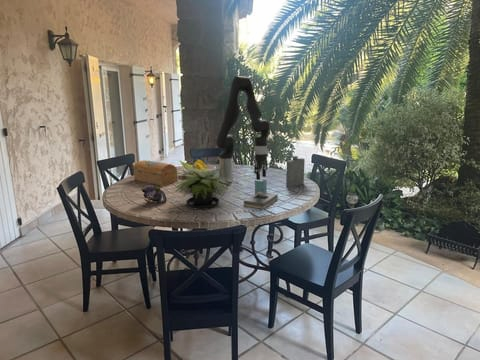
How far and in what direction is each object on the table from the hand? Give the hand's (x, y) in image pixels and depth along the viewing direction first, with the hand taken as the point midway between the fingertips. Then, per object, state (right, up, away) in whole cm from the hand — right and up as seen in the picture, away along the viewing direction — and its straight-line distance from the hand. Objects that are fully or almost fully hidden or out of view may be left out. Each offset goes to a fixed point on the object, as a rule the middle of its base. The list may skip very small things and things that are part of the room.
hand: (261, 178), depth 219 cm
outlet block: (-1, -14, -17) cm, 22 cm away
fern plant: (-34, -15, -19) cm, 42 cm away
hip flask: (+24, -5, +18) cm, 30 cm away
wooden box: (-74, -2, +35) cm, 82 cm away
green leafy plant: (-42, -6, +17) cm, 46 cm away
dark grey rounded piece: (-63, -15, -15) cm, 67 cm away
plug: (0, -9, +2) cm, 9 cm away
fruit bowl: (-46, +3, +51) cm, 68 cm away
